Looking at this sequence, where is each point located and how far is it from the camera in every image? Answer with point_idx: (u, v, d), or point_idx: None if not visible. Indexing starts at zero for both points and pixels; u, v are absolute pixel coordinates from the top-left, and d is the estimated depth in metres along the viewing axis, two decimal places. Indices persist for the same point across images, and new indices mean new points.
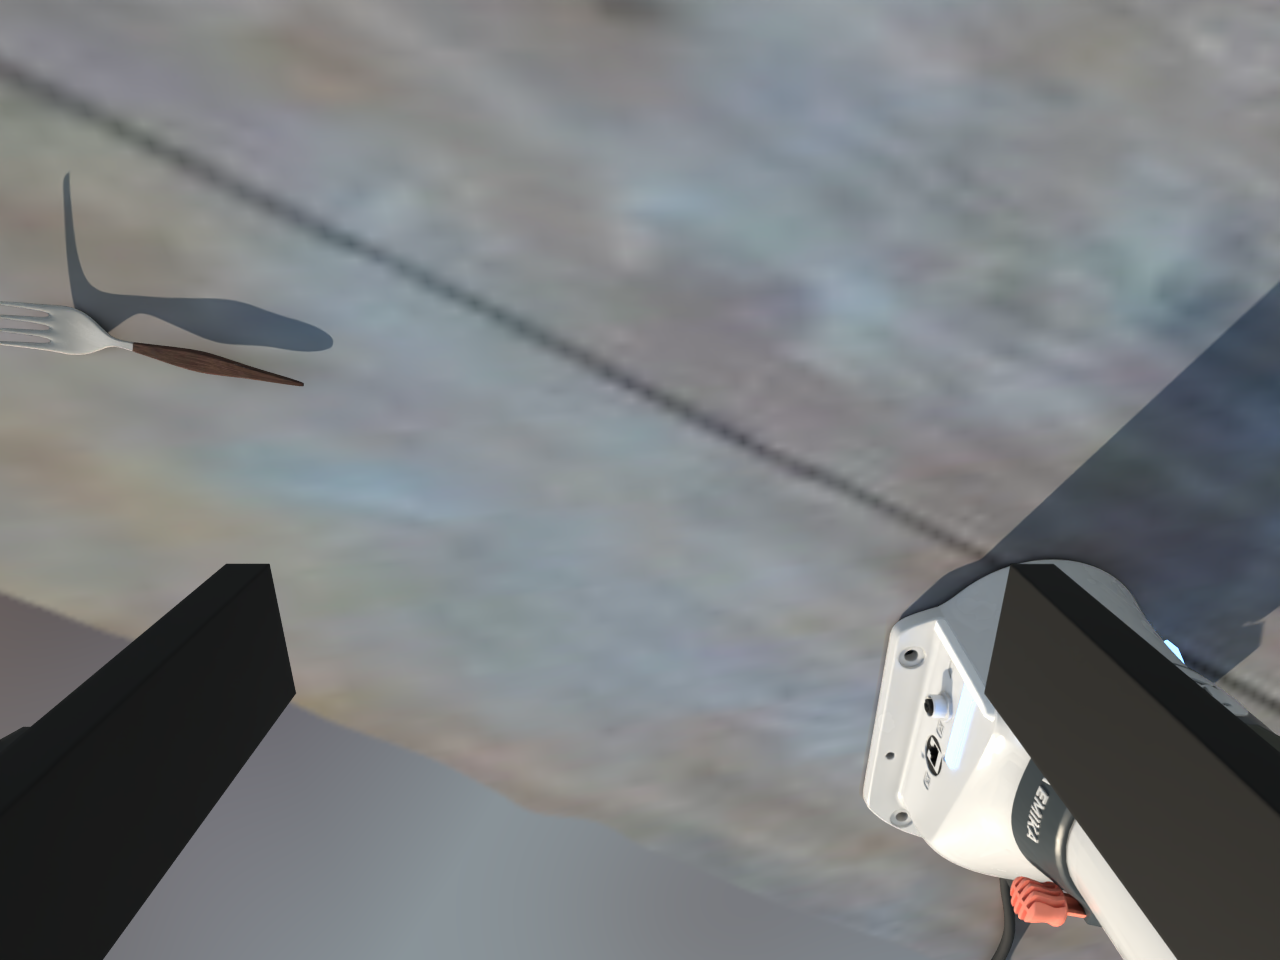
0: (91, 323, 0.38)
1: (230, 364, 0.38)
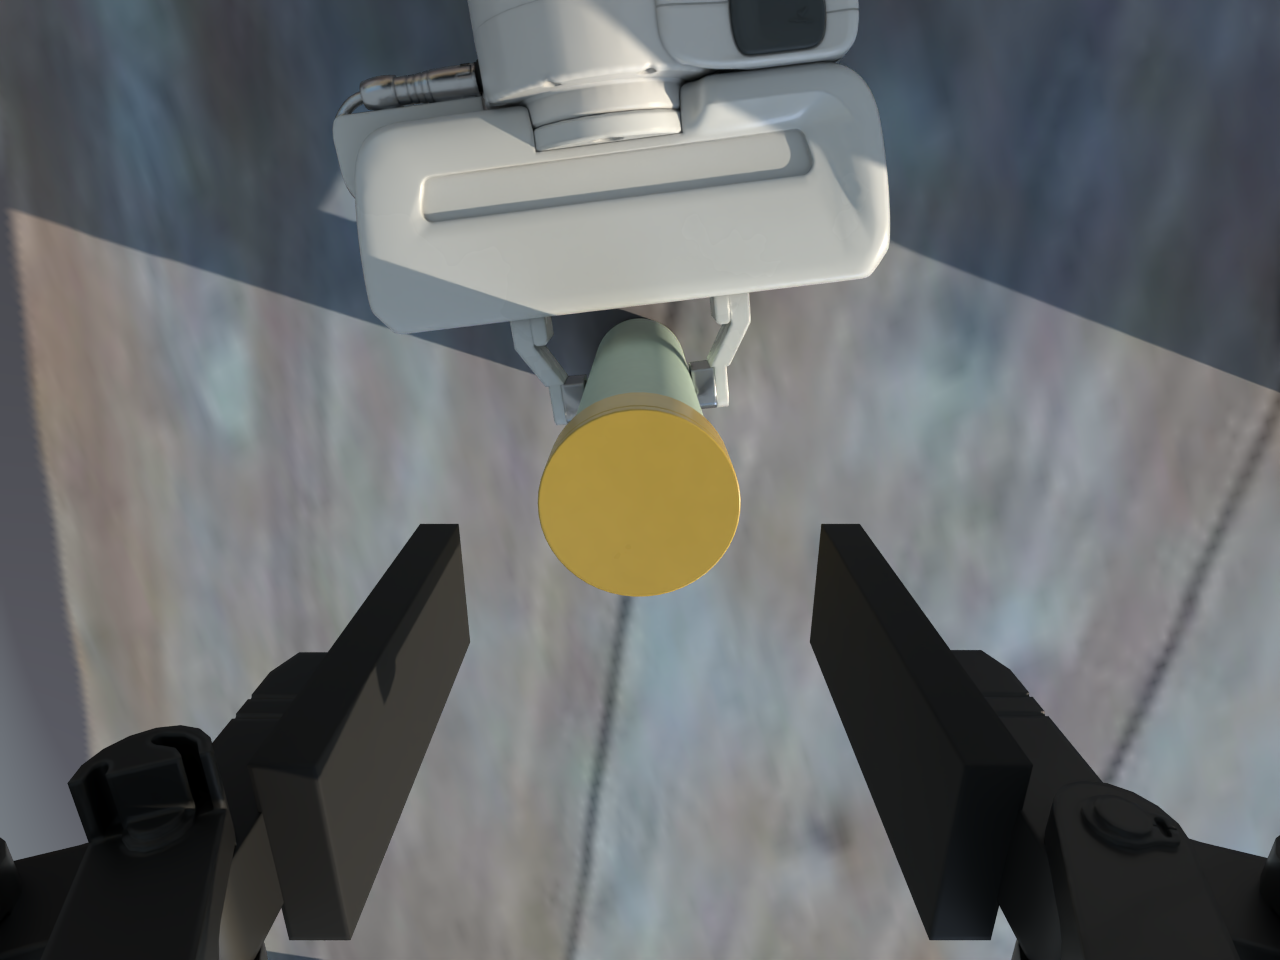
0: None
1: None
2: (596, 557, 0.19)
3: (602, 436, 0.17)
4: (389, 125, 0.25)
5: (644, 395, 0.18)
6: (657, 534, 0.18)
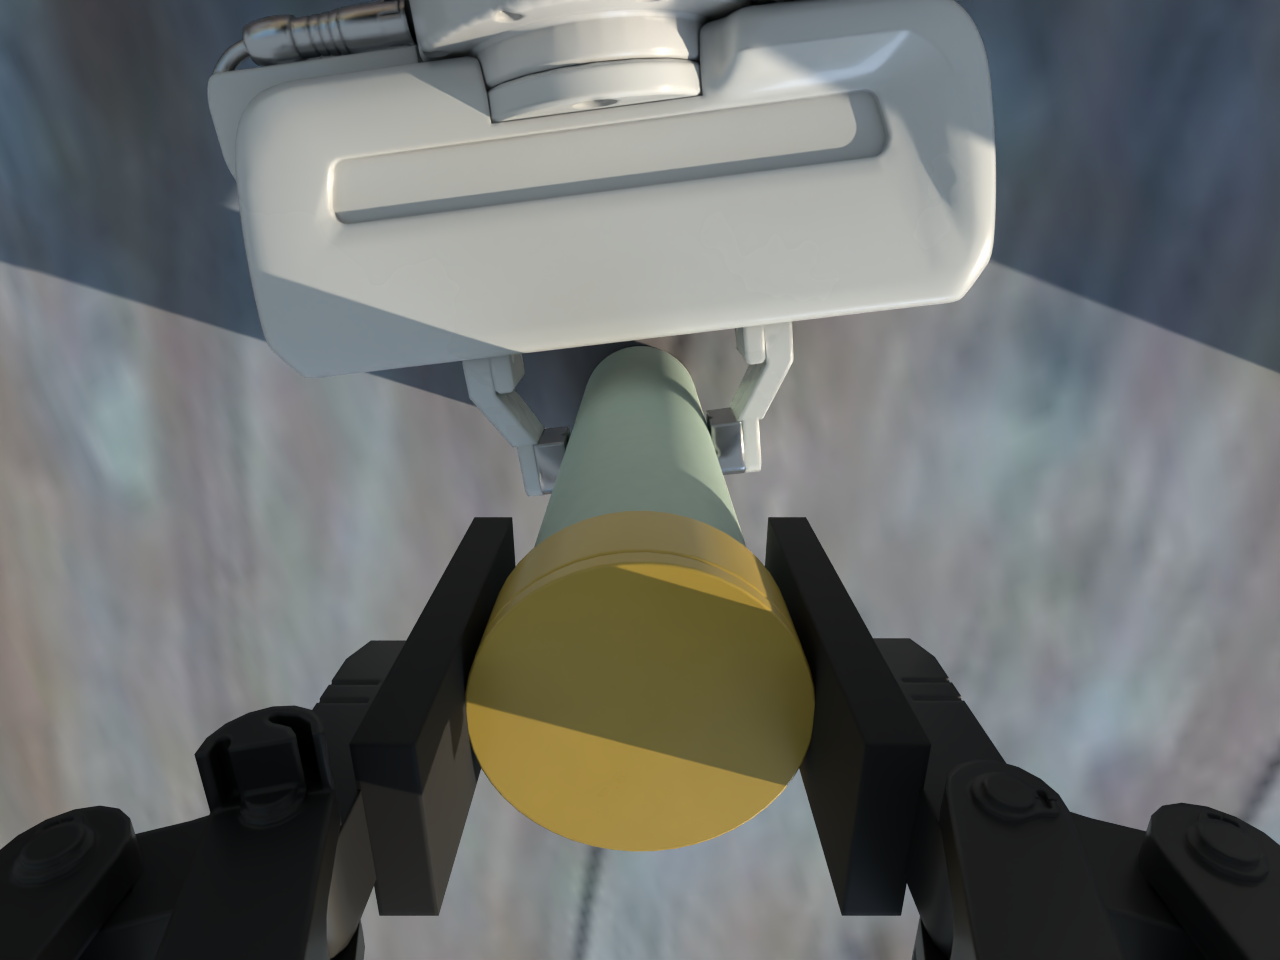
0: None
1: None
2: (567, 795, 0.11)
3: (575, 607, 0.10)
4: (280, 85, 0.17)
5: (649, 520, 0.11)
6: (671, 760, 0.11)
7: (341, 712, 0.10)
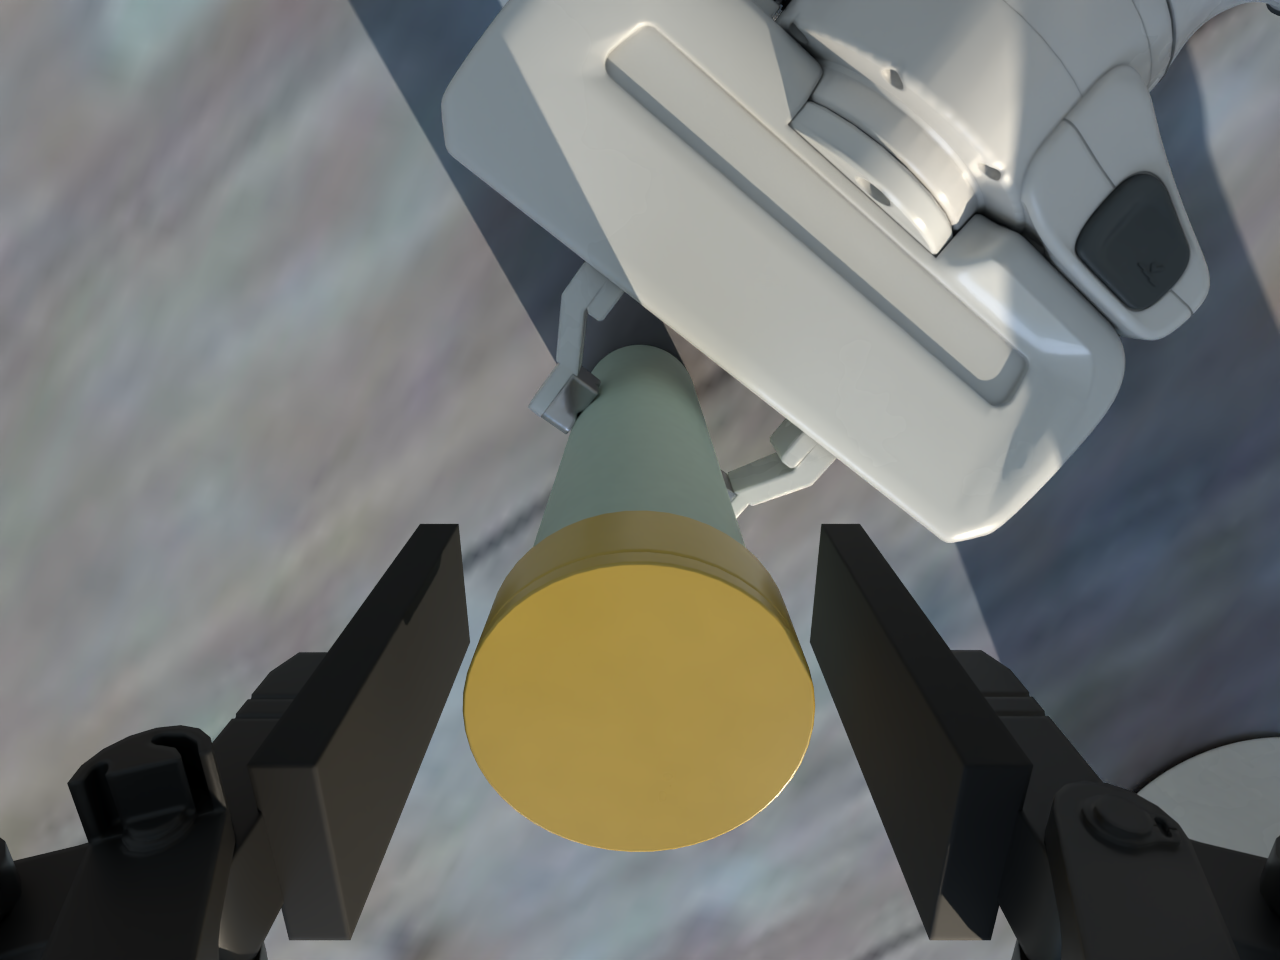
0: None
1: None
2: (636, 814, 0.11)
3: (508, 664, 0.10)
4: None
5: (545, 546, 0.11)
6: (694, 737, 0.11)
7: (256, 729, 0.09)
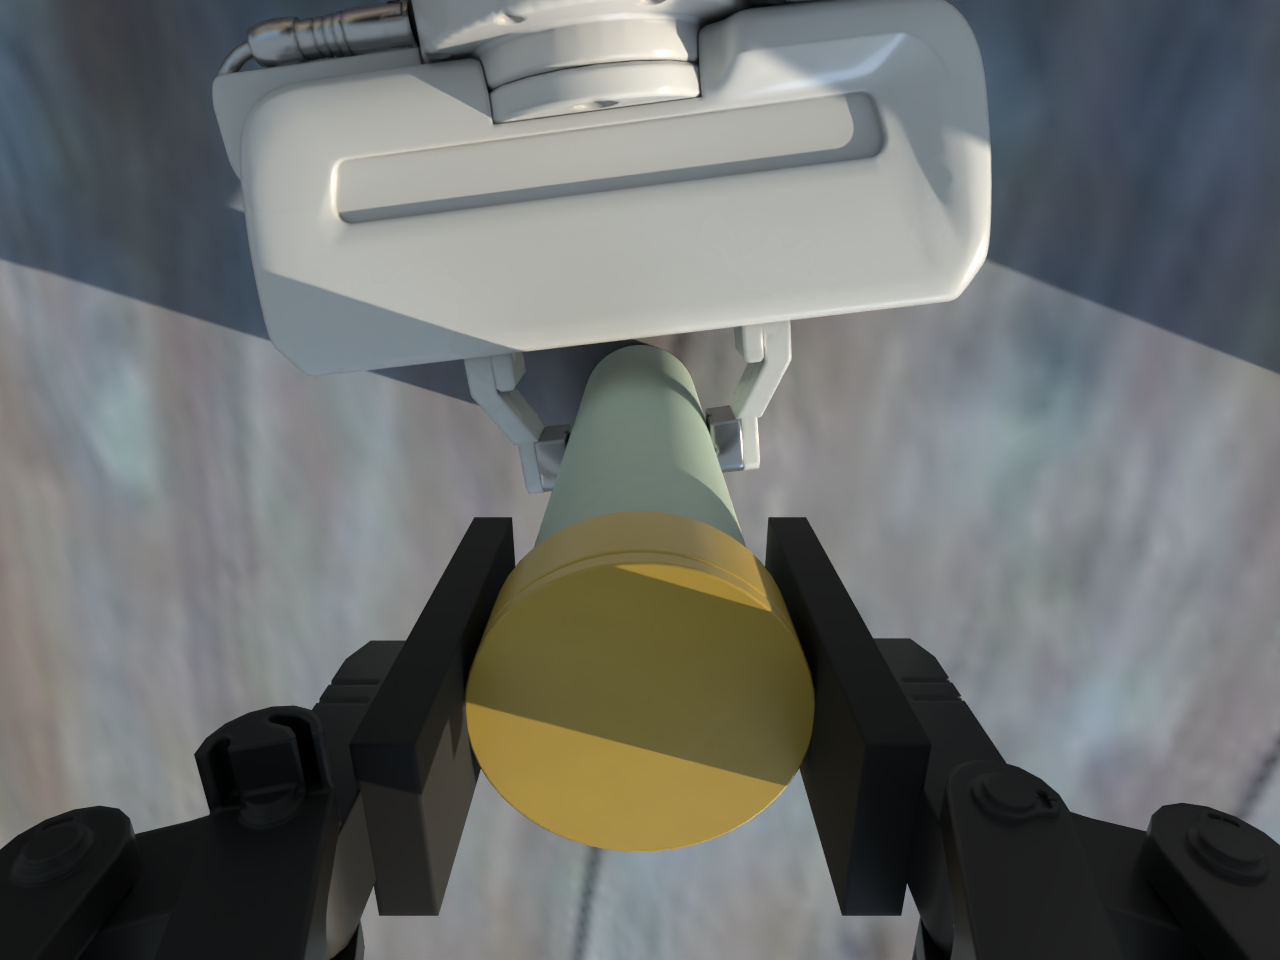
0: None
1: None
2: (719, 791, 0.11)
3: (506, 752, 0.11)
4: (285, 86, 0.18)
5: None
6: (695, 700, 0.10)
7: (341, 712, 0.10)
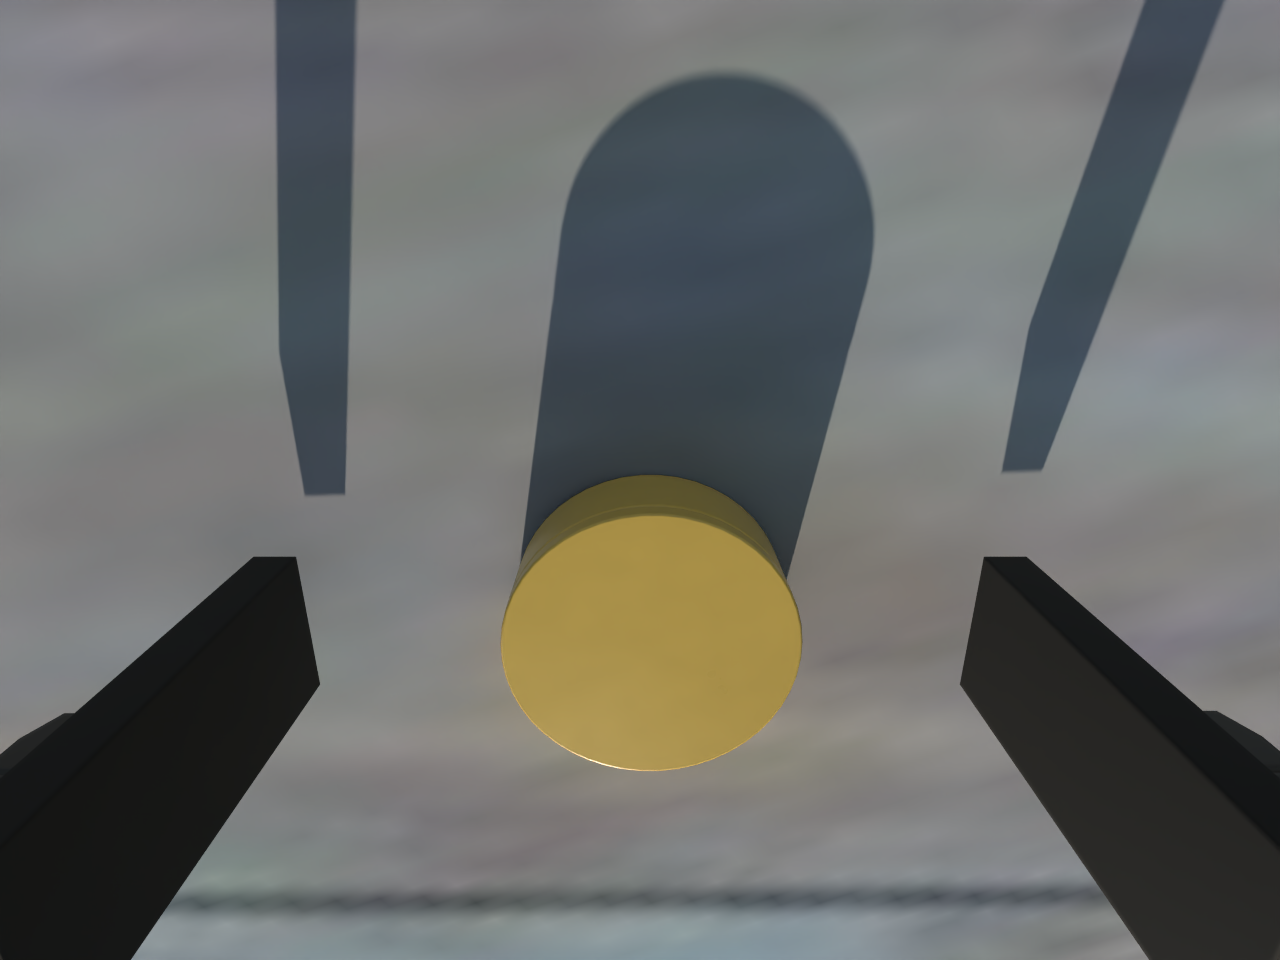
0: None
1: None
2: (719, 715, 0.13)
3: (536, 681, 0.12)
4: None
5: None
6: (699, 634, 0.12)
7: None
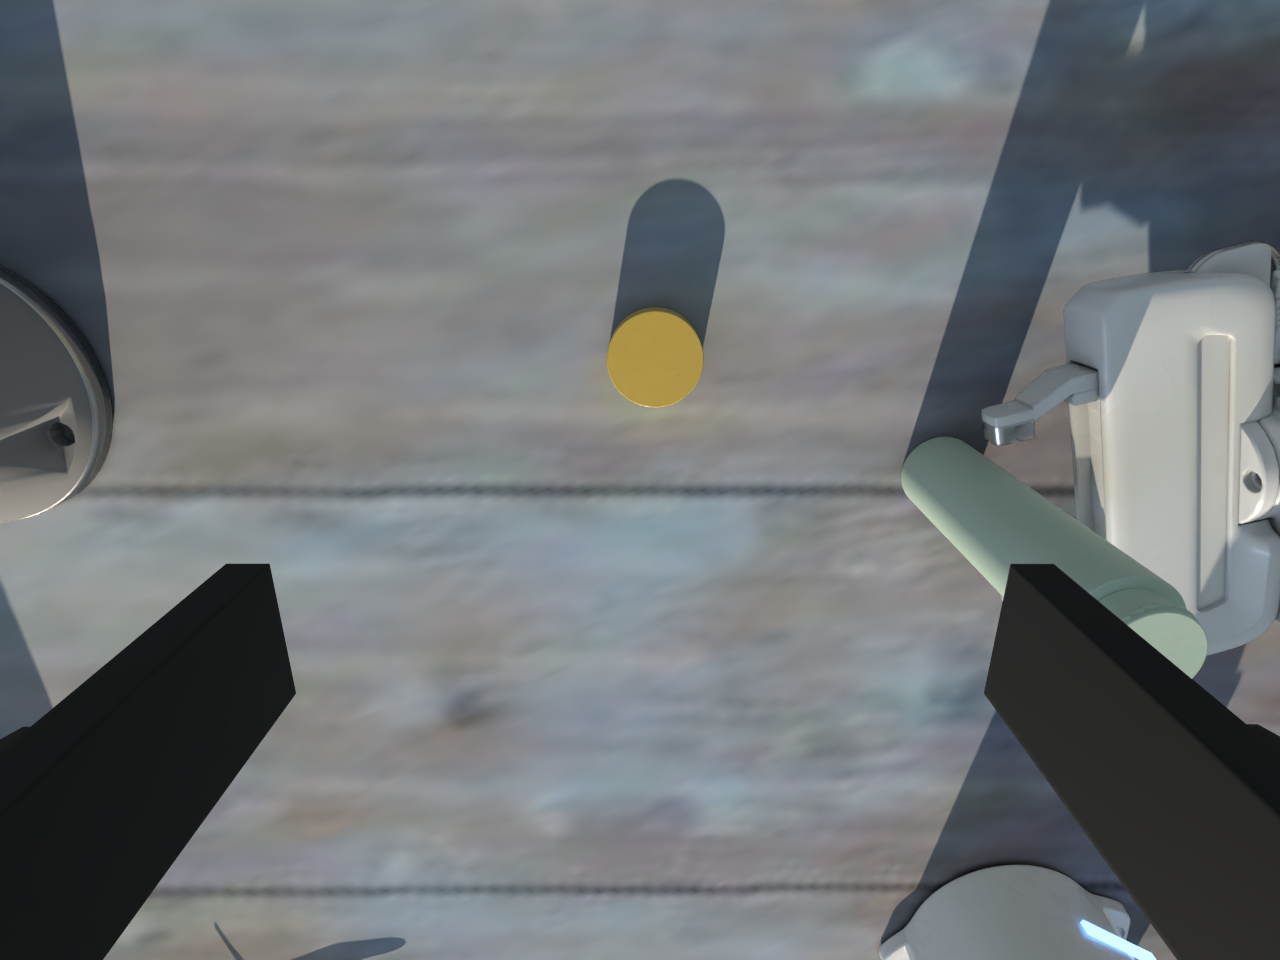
0: None
1: None
2: (677, 384, 0.38)
3: (617, 371, 0.38)
4: (1275, 304, 0.31)
5: None
6: (670, 353, 0.38)
7: None
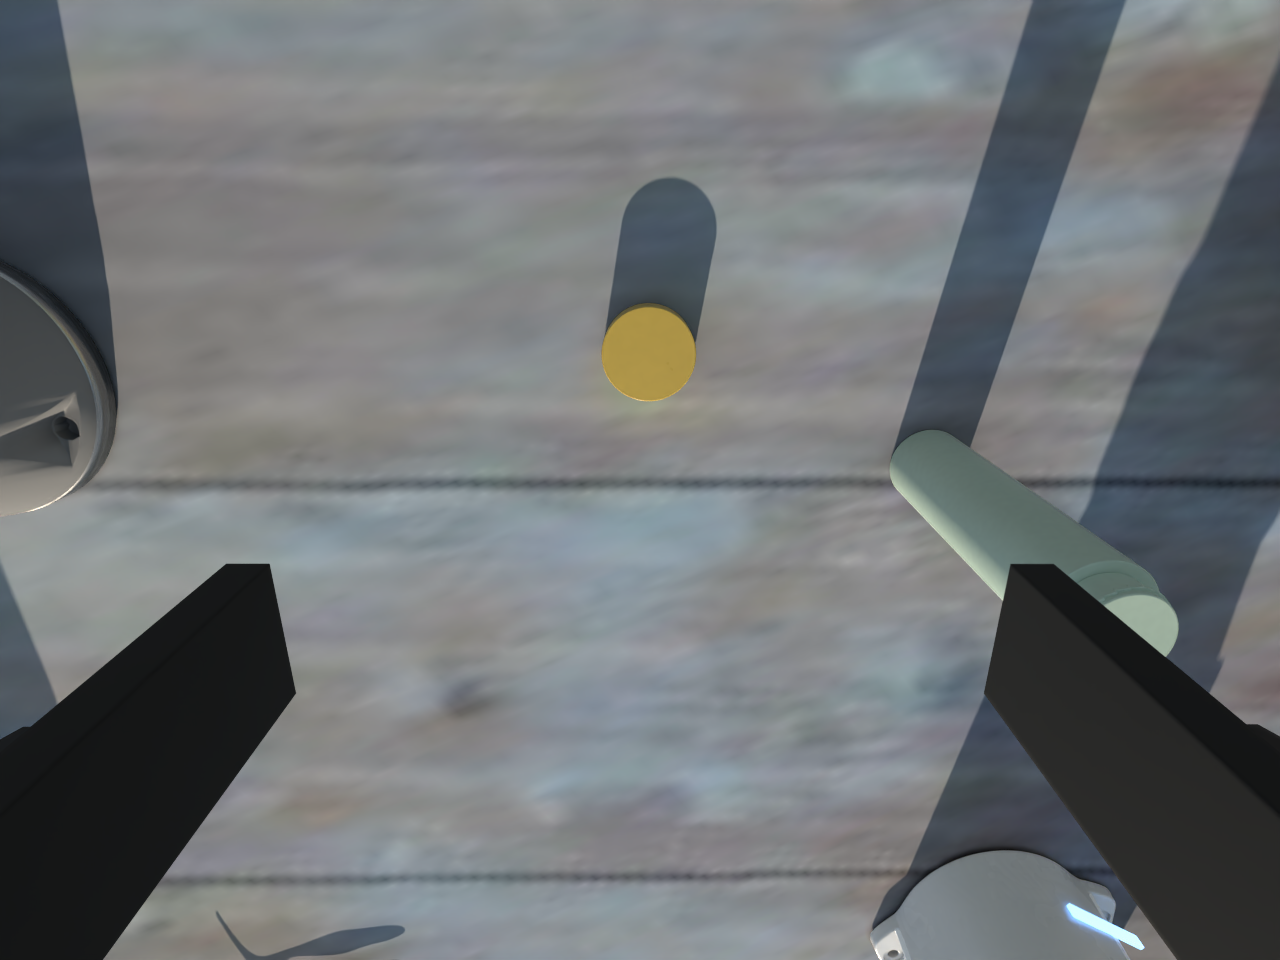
0: None
1: None
2: (670, 378, 0.39)
3: (612, 366, 0.39)
4: None
5: None
6: (663, 348, 0.39)
7: None
